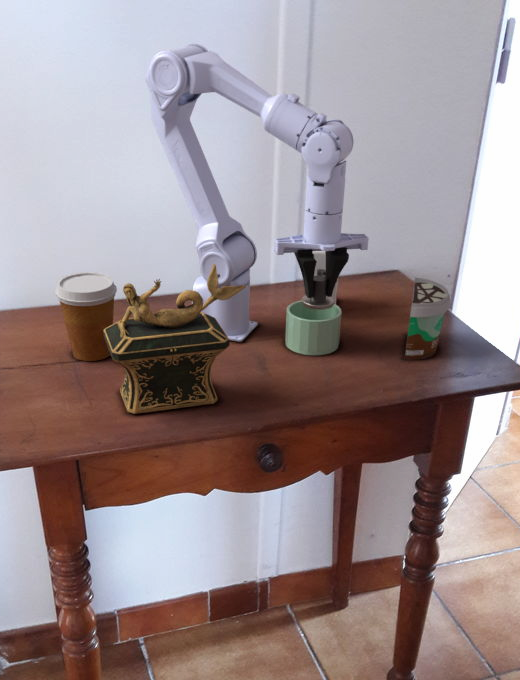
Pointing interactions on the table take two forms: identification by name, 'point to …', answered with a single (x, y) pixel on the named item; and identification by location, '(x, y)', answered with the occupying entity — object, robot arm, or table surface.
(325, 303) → the lid
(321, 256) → the ink box
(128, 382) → the decorative box
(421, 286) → the food container
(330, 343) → the cup
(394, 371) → the table surface
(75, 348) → the disposable coffee cup
